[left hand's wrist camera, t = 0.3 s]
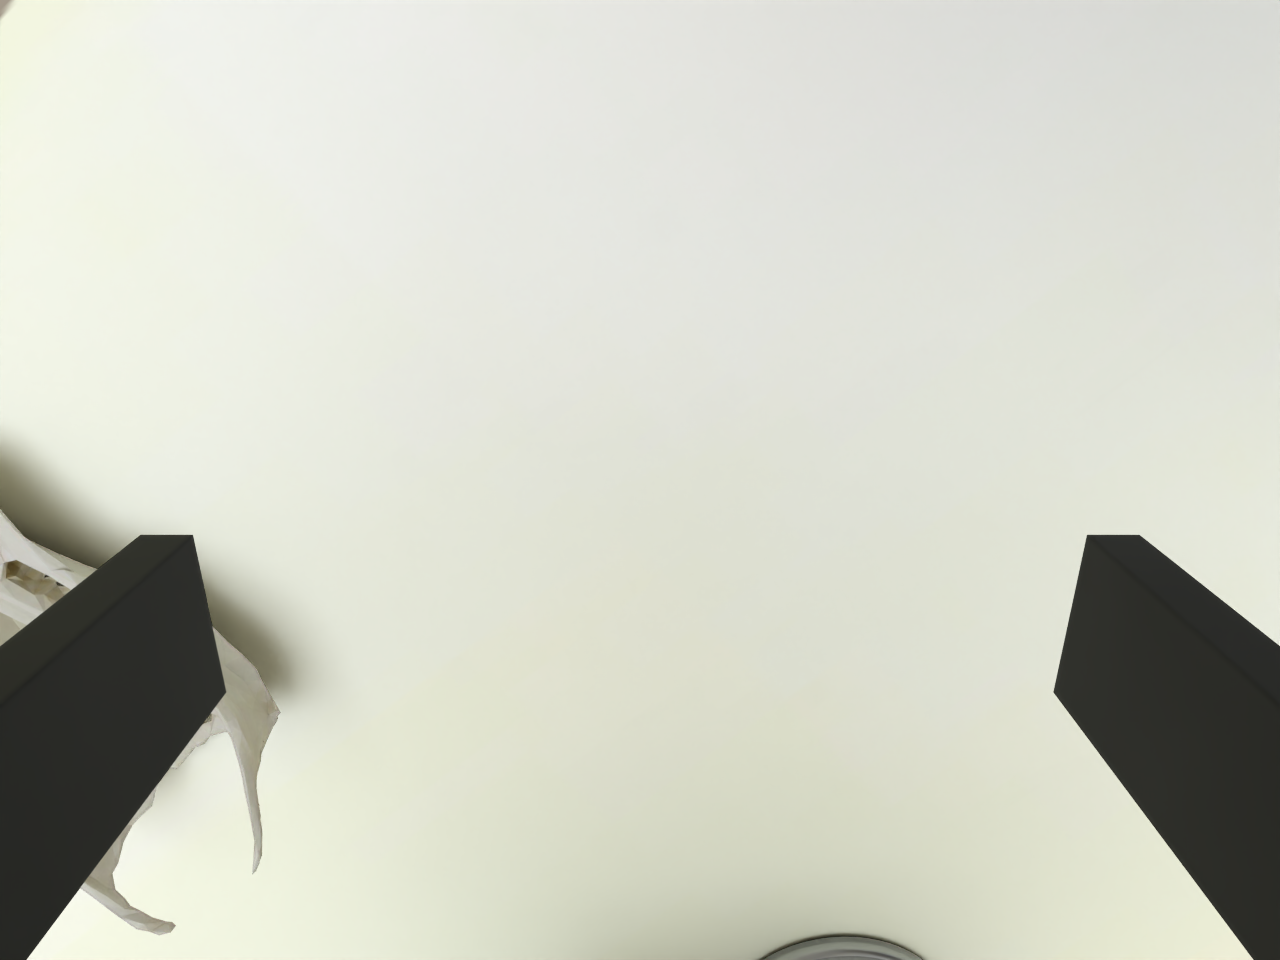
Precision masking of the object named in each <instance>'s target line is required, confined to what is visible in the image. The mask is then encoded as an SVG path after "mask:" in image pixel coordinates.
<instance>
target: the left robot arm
mask: <svg viewBox="0 0 1280 960" xmlns="http://www.w3.org/2000/svg"><path fill="white" fill-rule="evenodd" d="M225 694H226V688H225V683H224V678H223V674H222V669H221V664H220V660H219V655H218V650H217V646H216V641H215V636H214V632H213V627H212V622H211V618H210V613H209V608H208V604H207V599H206V594H205V590H204V585H203V580H202V576H201V571H200V566H199V562H198V557H197V552H196V548H195V543H194V538H193V535H140V536H139V537H137V538H136V539H135V540H134V541H132V542H131V543H130V544H129V545H127V546H126V547H125V548H124V549H122V550H121V551H120V552H119V553H117V554H116V555H115V556H113V557H112V558H111V559H110V560H108V561H107V562H106V563H105V564H103V565H102V566H101V567H100V568H98V569H97V570H96V571H95V572H93V573H92V574H91V575H89V576H88V577H87V578H86V579H84V580H83V581H82V582H81V583H79V584H78V585H77V586H76V587H74V588H73V589H72V590H71V591H69V592H68V593H67V594H65V595H64V596H63V597H62V598H60V599H59V600H58V601H57V602H55V603H54V604H53V605H52V606H50V607H49V608H48V609H47V610H45V611H44V612H43V613H42V614H40V615H39V616H38V617H36V618H35V619H34V620H33V621H31V622H30V623H29V624H28V625H26V626H25V627H24V628H23V629H21V630H20V631H19V632H18V633H16V634H15V635H14V636H12V637H11V638H10V639H9V640H7V641H6V642H5V643H4V644H2V645H1V646H0V960H27V958H28V957H29V956H30V954H31V953H32V952H33V950H34V949H35V948H36V946H37V945H38V944H39V942H40V941H41V939H42V938H43V937H44V935H45V934H46V933H47V931H48V930H49V929H50V927H51V926H52V925H53V923H54V922H55V921H56V919H57V918H58V917H59V915H60V914H61V913H62V911H63V910H64V909H65V907H66V906H67V905H68V903H69V902H70V901H71V899H72V898H73V897H74V895H75V894H76V893H77V891H78V890H79V889H80V887H81V886H82V885H83V883H84V882H85V881H86V879H87V878H88V877H89V875H90V874H91V873H92V871H93V870H94V869H95V867H96V866H97V865H98V863H99V862H100V861H101V859H102V858H103V857H104V855H105V854H106V853H107V851H108V850H109V849H110V847H111V846H112V845H113V843H114V842H115V841H116V839H117V838H118V837H119V835H120V834H121V833H122V831H123V830H124V829H125V827H126V826H127V825H128V823H129V822H130V821H131V819H132V818H133V817H134V815H135V814H136V813H137V811H138V810H139V809H140V807H141V806H142V804H143V803H144V802H145V800H146V799H147V798H148V796H149V795H150V794H151V792H152V791H153V790H154V788H155V787H156V786H157V784H158V783H159V782H160V780H161V779H162V778H163V776H164V775H165V774H166V772H167V771H168V770H169V768H170V767H171V766H172V764H173V763H174V762H175V760H176V759H177V758H178V756H179V755H180V754H181V752H182V751H183V750H184V748H185V747H186V746H187V744H188V743H189V742H190V740H191V739H192V738H193V736H194V735H195V734H196V732H197V731H198V730H199V728H200V727H201V726H202V724H203V723H204V722H205V720H206V719H207V718H208V716H209V715H210V714H211V712H212V711H213V710H214V708H215V707H216V706H217V704H218V703H219V702H220V700H221V699H222V698H223V696H224V695H225ZM1054 694H1055V695H1056V696H1057V698H1058V699H1059V700H1060V702H1061V703H1062V704H1063V706H1064V707H1065V708H1066V710H1067V711H1068V712H1069V714H1070V715H1071V716H1072V718H1073V719H1074V720H1075V722H1076V723H1077V724H1078V726H1079V727H1080V728H1081V730H1082V731H1083V732H1084V734H1085V735H1086V736H1087V738H1088V739H1089V740H1090V742H1091V743H1092V744H1093V746H1094V747H1095V748H1096V750H1097V751H1098V752H1099V754H1100V755H1101V756H1102V758H1103V759H1104V760H1105V762H1106V763H1107V764H1108V766H1109V767H1110V768H1111V770H1112V771H1113V772H1114V774H1115V775H1116V776H1117V778H1118V779H1119V780H1120V782H1121V783H1122V784H1123V786H1124V787H1125V788H1126V790H1127V791H1128V792H1129V794H1130V795H1131V796H1132V798H1133V799H1134V800H1135V802H1136V803H1137V804H1138V806H1139V807H1140V809H1141V810H1142V811H1143V813H1144V814H1145V815H1146V817H1147V818H1148V819H1149V821H1150V822H1151V823H1152V825H1153V826H1154V827H1155V829H1156V830H1157V831H1158V833H1159V834H1160V835H1161V837H1162V838H1163V839H1164V841H1165V842H1166V843H1167V845H1168V846H1169V847H1170V849H1171V850H1172V851H1173V853H1174V854H1175V855H1176V857H1177V858H1178V859H1179V861H1180V862H1181V863H1182V865H1183V866H1184V867H1185V869H1186V870H1187V871H1188V873H1189V874H1190V875H1191V877H1192V878H1193V879H1194V881H1195V882H1196V883H1197V885H1198V886H1199V887H1200V889H1201V890H1202V891H1203V893H1204V894H1205V895H1206V897H1207V898H1208V899H1209V901H1210V902H1211V903H1212V905H1213V906H1214V907H1215V909H1216V910H1217V911H1218V913H1219V914H1220V915H1221V917H1222V918H1223V919H1224V921H1225V922H1226V923H1227V925H1228V926H1229V927H1230V929H1231V930H1232V931H1233V933H1234V934H1235V935H1236V937H1237V938H1238V939H1239V941H1240V942H1241V944H1242V945H1243V946H1244V948H1245V949H1246V950H1247V952H1248V953H1249V954H1250V956H1251V957H1252V958H1253V960H1280V646H1279V645H1278V644H1276V643H1275V642H1274V641H1273V640H1271V639H1270V638H1269V637H1268V636H1266V635H1265V634H1264V633H1262V632H1261V631H1260V630H1259V629H1257V628H1256V627H1255V626H1254V625H1252V624H1251V623H1250V622H1249V621H1247V620H1246V619H1245V618H1244V617H1242V616H1241V615H1240V614H1238V613H1237V612H1236V611H1235V610H1233V609H1232V608H1231V607H1230V606H1228V605H1227V604H1226V603H1225V602H1223V601H1222V600H1221V599H1220V598H1218V597H1217V596H1216V595H1215V594H1213V593H1212V592H1211V591H1209V590H1208V589H1207V588H1206V587H1204V586H1203V585H1202V584H1201V583H1199V582H1198V581H1197V580H1196V579H1194V578H1193V577H1192V576H1191V575H1189V574H1188V573H1187V572H1185V571H1184V570H1183V569H1182V568H1180V567H1179V566H1178V565H1177V564H1175V563H1174V562H1173V561H1172V560H1170V559H1169V558H1168V557H1167V556H1165V555H1164V554H1163V553H1161V552H1160V551H1159V550H1158V549H1156V548H1155V547H1154V546H1153V545H1151V544H1150V543H1149V542H1148V541H1146V540H1145V539H1144V538H1143V537H1141V536H1140V535H1087V538H1086V543H1085V548H1084V552H1083V557H1082V562H1081V566H1080V571H1079V576H1078V580H1077V585H1076V590H1075V594H1074V599H1073V604H1072V608H1071V613H1070V618H1069V622H1068V627H1067V632H1066V636H1065V641H1064V646H1063V650H1062V655H1061V660H1060V664H1059V669H1058V674H1057V678H1056V683H1055V688H1054ZM764 960H922V959H921V958H919V957H918V956H917V955H915V954H913V953H911V952H910V951H908V950H906V949H903V948H901V947H899V946H896V945H894V944H891V943H887V942H884V941H880V940H875V939H870V938H861V937H830V938H821V939H816V940H810V941H806V942H802V943H799V944H796V945H793V946H790V947H787V948H785V949H782V950H780V951H778V952H776V953H774V954H772V955H770V956H768V957H767V958H765V959H764Z"/></svg>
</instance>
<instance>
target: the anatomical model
mask: <svg viewBox="0 0 1280 960" xmlns="http://www.w3.org/2000/svg"><path fill="white" fill-rule="evenodd" d="M96 570H97V569H96V568H93V567H90V566H87V565H85V564H82V563H80V562H77V561H75V560H73V559H70V558H68V557H66V556H63V555H61V554H58V553H56V552H54V551H52V550H50V549H48V548H45V547H43V546H41V545H39V544H37V543H35V542H32V541H30V540H28V539H27V538H25V537H24V536H23V535H22V534H21V533H20V531H19V530H18V529H17V528H16V527H15V526H14V524H13V523H12V522H11V521H10V520H9V519H8V518H7V516H6V515H5V514H4V513H3V512H2V511H1V509H0V646H1V645H2V644H4V643H5V642H6V641H7V640H9V639H10V638H11V637H12V636H14V635H15V634H16V633H18V632H19V631H20V630H21V629H23V628H24V627H25V626H26V625H28V624H29V623H30V622H31V621H33V620H34V619H35V618H36V617H38V616H39V615H40V614H42V613H43V612H44V611H45V610H47V609H48V608H49V607H50V606H52V605H53V604H54V603H55V602H57V601H58V600H59V599H60V598H62V597H63V596H64V595H65V594H67V593H68V592H69V591H71V590H72V589H73V588H74V587H76V586H77V585H78V584H79V583H81V582H82V581H83V580H84V579H86V578H87V577H88V576H89V575H91V574H92V573H93V572H95V571H96ZM45 575H48V577H45ZM44 577H45V578H44ZM56 582H58V583H60V584H62V585H64V586H61V585H57V583H56ZM212 627H213V626H212ZM213 632H214V636H215V641H216V646H217V650H218V655H219V660H220V664H221V669H222V674H223V678H224V683H225V688H226V694H225V695H224V696H223V698H222V699H221V700H220V702H219V703H218V704H217V706H216V707H215V708H214V710H213V711H212V712H211V721H209V722H208V719H206V720H205V722H204V723H203V724H202V726H201V727H200V728H199V730H198V731H197V732H196V734H195V735H194V736H193V738H192V739H191V740H190V742H189V743H188V744H187V746H186V747H185V748H184V750H183V751H182V752H181V754H180V755H179V756H178V758H177V759H176V760H175V762H174V763H173V764H172V766H171V767H170V768H173V769H177V768H178V767H179V766H180V765H181V764H182V762H183V761H184V760H185V759H186V758H187V757H188V756H189V754H190V753H191V752H192V751H193V749H194V748H195V747H197V746H200V745H202V744H205V743H206V741H207V740H208V738H209V737H210V736H212V735H215V734H219V733H223V732H228V733H229V735H230V737H231V739H232V742H233V746H234V749H235V752H236V756H237V759H238V762H239V766H240V770H241V774H242V778H243V784H244V790H245V795H246V800H247V804H248V809H249V813H250V819H251V824H252V830H253V835H254V841H255V844H254V860H253V871H252V874H253V873H254V872H255V871H256V870H257V867H258V865H259V862H260V859H261V856H262V827H261V821H260V817H261V815H260V809H259V806H260V805H259V803H258V797H257V789H256V780H257V772H258V769H259V765H260V762H261V753H262V751H263V748H264V746H265V744H266V741H267V739H268V736H269V734H270V732H271V730H272V728H273V726H274V725H275V723H276V721H277V719H278V717H277V716H278V715H279V714H280V711H279V709H278V707H277V706H276V704H275V702H274V700H273V699H272V697H271V695H270V693H269V691H268V690H267V688H266V686H265V684H264V683H263V681H262V679H261V677H260V675H259V672H258V670H257V668H256V667H255V666H254V665H253V664H252V663H251V662H250V661H249V660H248V659H247V658H246V657H245V656H244V655H243V654H242V653H240V652H239V651H238V650H237V649H236V648H234V647H233V646H232V645H231V644H230V643H229V642H228V641H227V640H226V639H225V638H224V637H223V636H222V635H221V634H220V633H219V632H218V631H217V630H216V629H215V628H214V627H213ZM157 785H158V784H157ZM156 788H157V786H156V787H155V788H154V790H153V791H152V792H151V794H150V795H149V796H148V798H147V799H146V800H145V802H144V803H143V804H142V806H141V807H140V809H139V810H138V811H137V813H136V814H135V815H134V817H133V818H132V819H131V821H130V822H129V823H128V825H127V826H126V827H125V829H124V830H123V831H122V833H121V834H120V835H119V837H118V838H117V839H116V841H115V842H114V843H113V845H112V846H111V847H110V849H109V850H108V851H107V853H106V854H105V855H104V857H103V858H102V859H101V861H100V862H99V863H98V865H97V866H96V867H95V869H94V870H93V871H92V873H91V874H90V875H89V877H88V878H87V879H86V881H85V882H84V883H83V885H82V886H81V887H80V888H81V889H82V890H84V891H85V892H86V893H88V894H89V895H90V896H92V897H93V898H94V899H96V900H97V901H98V902H100V903H101V904H102V905H104V906H105V907H107V908H108V909H109V910H111V911H112V912H113V913H115V914H116V915H117V916H119V917H120V918H121V919H123V920H124V921H126V922H127V923H128V924H130V925H131V926H133V927H134V928H136V929H139V930H144V931H148V932H152V933H155V934H157V935H162V934H166V933H170V932H171V931H172V930H173V929H174V927H175V926H176V925H175V924H174V923H173V922H166V921H163V920H159V919H156V918H152V917H150V916H149V915H147V914H145V913H144V912H142V911H140V910H138V909H136V908H134V907H132V906H130V905H129V903H128V902H127V901H126V899H125V898H124V897H123V896H122V895H121V894H120V893H118V892H117V891H116V890H115V885H114V880H113V875H112V873H113V871H114V869H115V868H116V866H117V864H118V861H119V857H120V853H121V849H122V846H123V842H124V840H125V838H126V836H127V834H128V832H129V831H130V829H131V827H132V825H133V824H134V823H135V822H136V821H137V819H138V818H139V817H140V816H142V815H143V814H144V813H145V812H146V811H147V810H148V809H149V808H150V807H151V806H152V804H153V799H154V795H155V792H156Z"/></svg>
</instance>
